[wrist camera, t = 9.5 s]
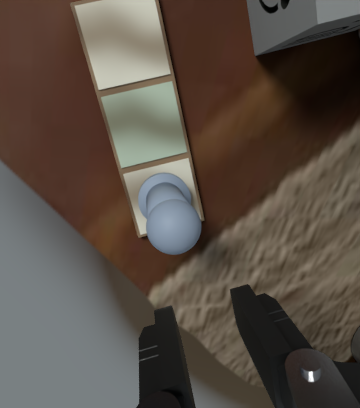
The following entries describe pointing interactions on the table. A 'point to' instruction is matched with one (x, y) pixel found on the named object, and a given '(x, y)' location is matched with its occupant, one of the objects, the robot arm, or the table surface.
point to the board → (136, 94)
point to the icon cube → (299, 21)
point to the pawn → (169, 213)
